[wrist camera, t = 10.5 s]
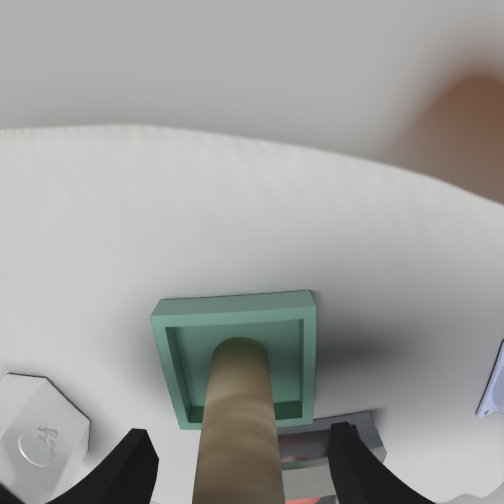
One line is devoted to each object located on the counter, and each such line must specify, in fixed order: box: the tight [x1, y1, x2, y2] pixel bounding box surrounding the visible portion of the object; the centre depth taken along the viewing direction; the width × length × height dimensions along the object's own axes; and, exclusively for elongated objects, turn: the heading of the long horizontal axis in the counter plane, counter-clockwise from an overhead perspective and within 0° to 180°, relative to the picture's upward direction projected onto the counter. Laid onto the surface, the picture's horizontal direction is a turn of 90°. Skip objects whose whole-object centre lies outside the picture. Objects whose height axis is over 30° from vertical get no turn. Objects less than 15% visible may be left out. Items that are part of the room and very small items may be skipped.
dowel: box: [192, 337, 285, 504], centre depth 12 cm, size 3×3×9 cm
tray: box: [150, 290, 317, 430], centre depth 16 cm, size 8×8×2 cm
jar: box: [0, 374, 90, 504], centre depth 13 cm, size 9×8×12 cm
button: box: [285, 497, 321, 504], centre depth 18 cm, size 4×4×1 cm
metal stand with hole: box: [276, 411, 387, 504], centre depth 18 cm, size 10×13×4 cm
